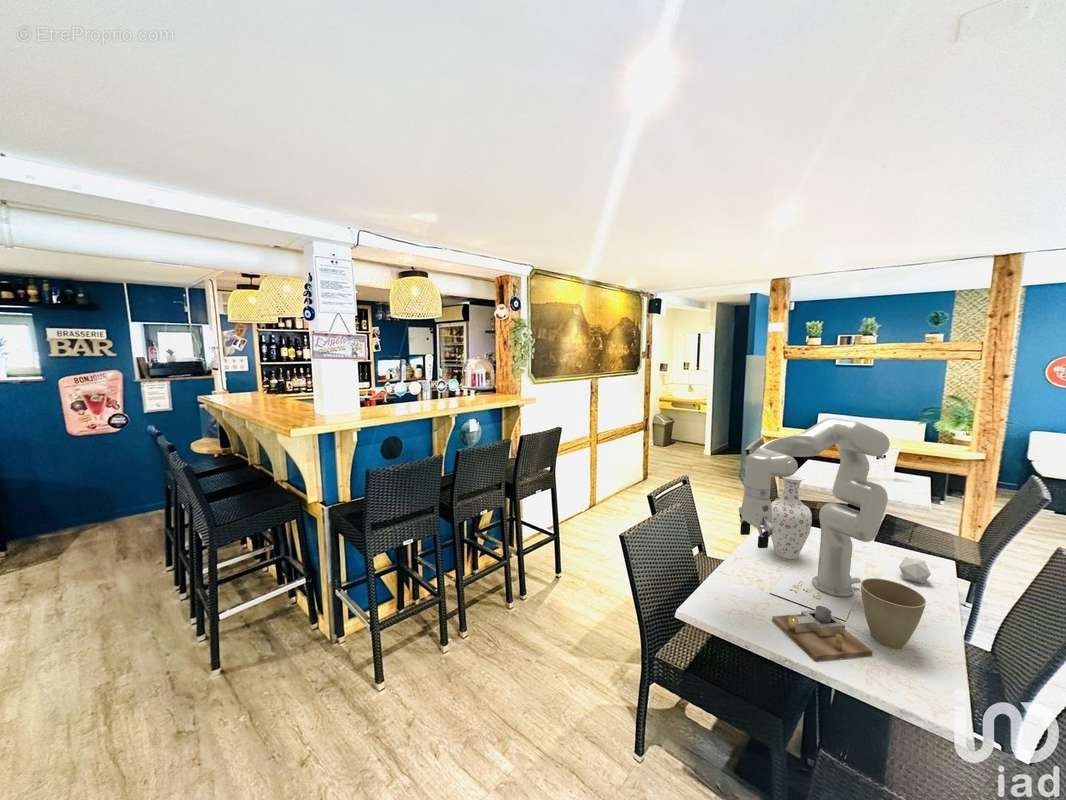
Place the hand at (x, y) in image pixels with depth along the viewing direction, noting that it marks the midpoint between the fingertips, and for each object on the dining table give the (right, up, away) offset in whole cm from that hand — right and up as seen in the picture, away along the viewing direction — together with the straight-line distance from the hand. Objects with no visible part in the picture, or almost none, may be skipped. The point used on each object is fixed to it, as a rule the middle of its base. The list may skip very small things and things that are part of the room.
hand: (753, 540), depth 141 cm
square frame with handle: (+13, -24, -10) cm, 29 cm away
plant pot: (+34, -26, -13) cm, 44 cm away
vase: (+34, -20, +39) cm, 55 cm away
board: (+14, -26, -12) cm, 31 cm away
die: (+72, -22, +20) cm, 78 cm away
